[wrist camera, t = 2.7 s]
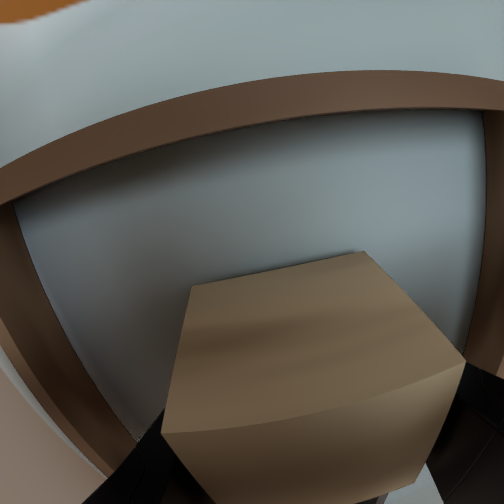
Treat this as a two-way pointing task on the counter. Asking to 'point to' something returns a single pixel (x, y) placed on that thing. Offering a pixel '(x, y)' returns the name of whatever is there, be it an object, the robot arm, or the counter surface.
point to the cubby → (193, 126)
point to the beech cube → (308, 385)
